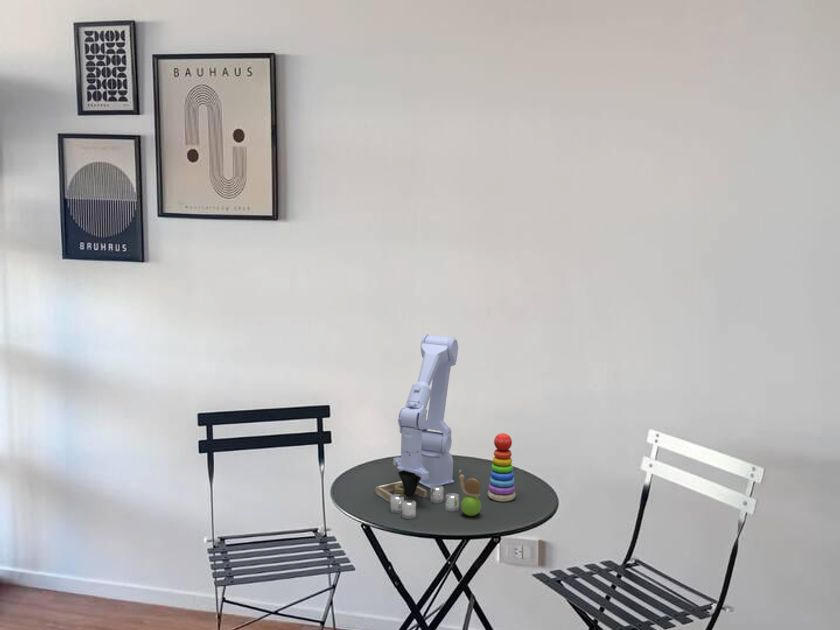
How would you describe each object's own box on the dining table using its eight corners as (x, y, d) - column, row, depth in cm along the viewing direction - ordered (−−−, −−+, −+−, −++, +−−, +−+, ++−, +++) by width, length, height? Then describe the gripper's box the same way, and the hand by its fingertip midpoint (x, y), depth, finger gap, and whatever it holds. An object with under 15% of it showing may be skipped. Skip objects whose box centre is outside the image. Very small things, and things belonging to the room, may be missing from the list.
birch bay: (406, 486, 237) (406, 479, 236) (426, 497, 229) (426, 490, 228) (374, 493, 230) (374, 486, 230) (394, 505, 222) (394, 498, 222)
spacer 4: (453, 505, 223) (453, 491, 223) (461, 510, 220) (461, 496, 220) (442, 508, 221) (443, 494, 221) (450, 512, 218) (451, 498, 218)
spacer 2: (410, 512, 217) (410, 498, 217) (418, 517, 214) (418, 503, 214) (399, 515, 215) (399, 501, 215) (407, 520, 212) (407, 505, 212)
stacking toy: (518, 494, 233) (521, 432, 230) (511, 504, 225) (514, 439, 223) (492, 490, 236) (495, 428, 233) (484, 499, 228) (486, 435, 225)
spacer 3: (438, 497, 229) (438, 484, 228) (445, 501, 226) (446, 488, 225) (427, 500, 227) (428, 486, 226) (435, 504, 224) (435, 490, 223)
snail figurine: (461, 509, 221) (462, 467, 219) (483, 513, 219) (485, 470, 217) (454, 516, 216) (455, 473, 214) (476, 520, 214) (478, 477, 212)
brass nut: (405, 492, 232) (405, 482, 231) (414, 497, 228) (414, 487, 228) (390, 496, 229) (391, 485, 228) (399, 501, 225) (399, 490, 225)
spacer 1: (398, 507, 221) (399, 493, 220) (406, 511, 218) (406, 497, 218) (387, 509, 219) (388, 495, 218) (395, 514, 216) (395, 500, 216)
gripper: (384, 444, 227) (383, 491, 229) (414, 459, 215) (413, 507, 218) (405, 441, 231) (404, 486, 233) (435, 455, 220) (434, 502, 222)
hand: (409, 496), depth 226 cm, fingers closed
